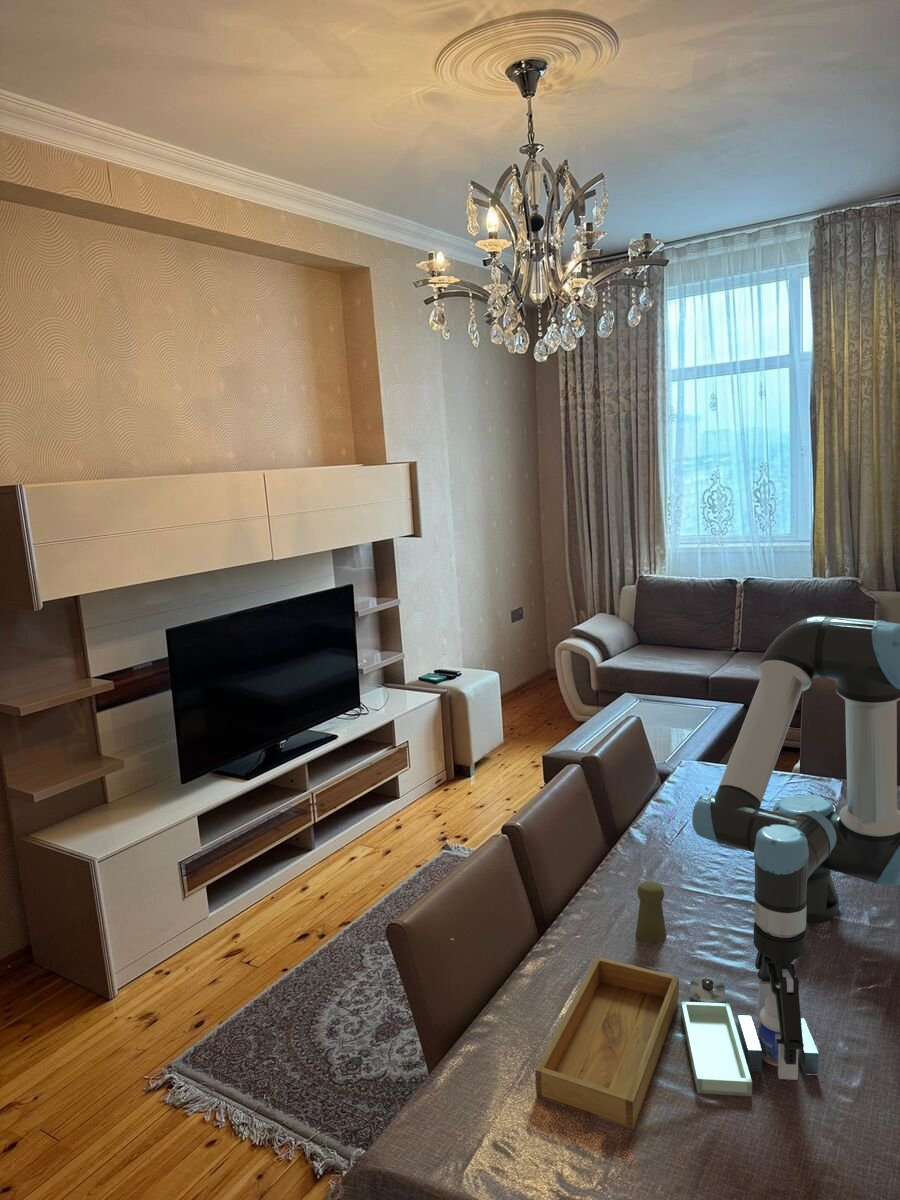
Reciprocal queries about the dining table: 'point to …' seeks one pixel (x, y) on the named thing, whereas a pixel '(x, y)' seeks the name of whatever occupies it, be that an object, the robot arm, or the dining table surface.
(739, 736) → the robot arm
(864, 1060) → the dining table surface
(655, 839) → the dining table surface
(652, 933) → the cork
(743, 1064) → the tray
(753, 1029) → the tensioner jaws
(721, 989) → the silver pot lid
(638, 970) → the tray
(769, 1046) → the pill bottle
